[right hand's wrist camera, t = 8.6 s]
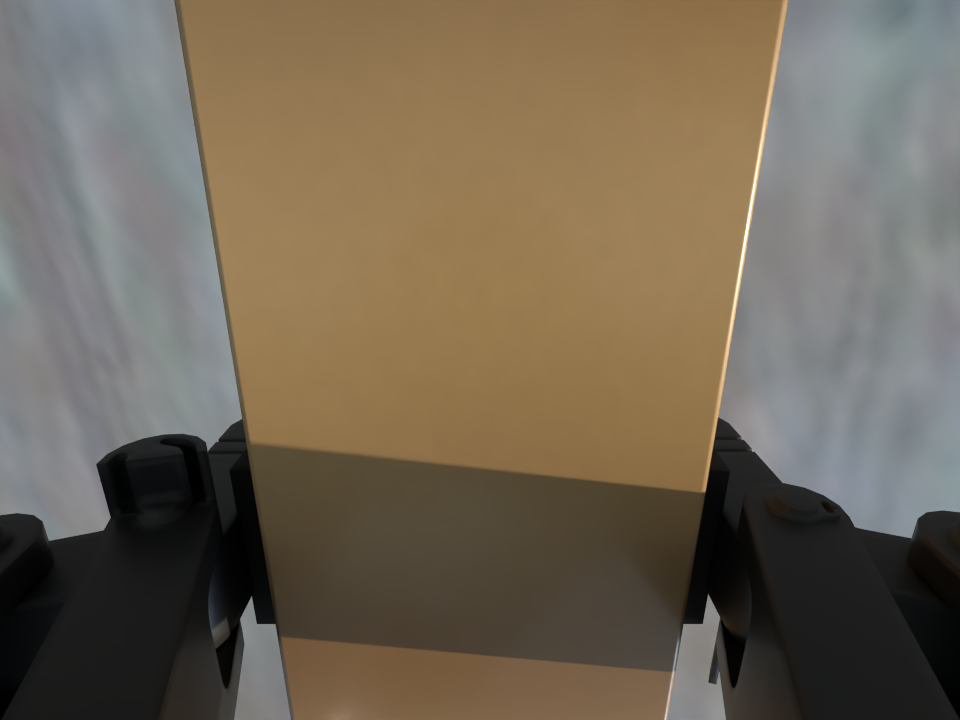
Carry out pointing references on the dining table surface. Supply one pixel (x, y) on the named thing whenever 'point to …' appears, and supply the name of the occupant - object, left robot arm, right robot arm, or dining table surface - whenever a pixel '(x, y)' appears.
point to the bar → (480, 331)
